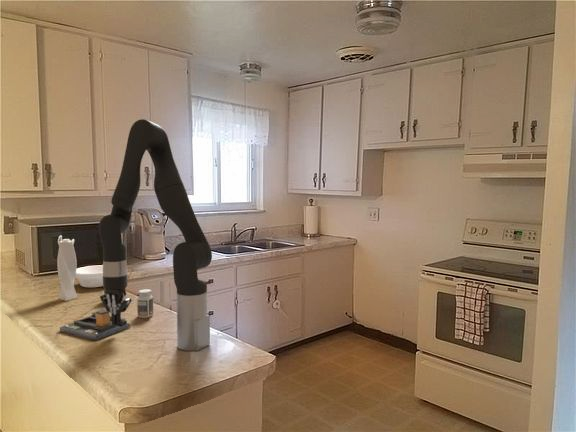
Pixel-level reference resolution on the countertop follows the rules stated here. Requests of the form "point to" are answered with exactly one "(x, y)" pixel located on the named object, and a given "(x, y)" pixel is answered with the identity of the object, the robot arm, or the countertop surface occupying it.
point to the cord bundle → (110, 319)
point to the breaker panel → (92, 329)
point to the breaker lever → (102, 317)
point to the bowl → (90, 276)
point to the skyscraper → (67, 269)
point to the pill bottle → (145, 303)
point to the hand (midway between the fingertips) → (116, 324)
